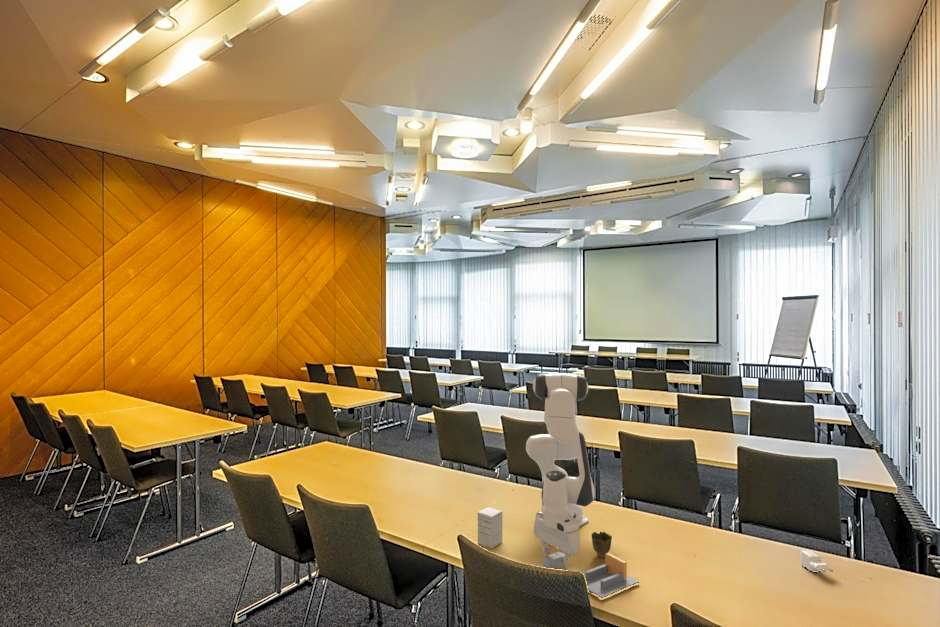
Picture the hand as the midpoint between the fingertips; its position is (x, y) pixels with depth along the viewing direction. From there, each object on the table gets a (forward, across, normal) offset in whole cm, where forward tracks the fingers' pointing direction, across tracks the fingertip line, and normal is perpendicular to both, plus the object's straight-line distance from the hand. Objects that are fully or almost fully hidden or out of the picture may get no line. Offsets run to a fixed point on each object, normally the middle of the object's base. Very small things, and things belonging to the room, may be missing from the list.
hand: (555, 558), depth 180 cm
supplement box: (+4, -31, -7) cm, 32 cm away
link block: (+5, -1, 0) cm, 5 cm away
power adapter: (+5, +52, +77) cm, 93 cm away
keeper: (+5, +15, +8) cm, 18 cm away
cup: (+4, +2, +22) cm, 23 cm away
